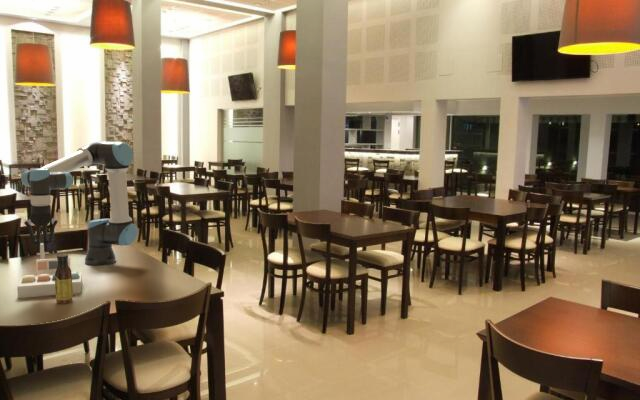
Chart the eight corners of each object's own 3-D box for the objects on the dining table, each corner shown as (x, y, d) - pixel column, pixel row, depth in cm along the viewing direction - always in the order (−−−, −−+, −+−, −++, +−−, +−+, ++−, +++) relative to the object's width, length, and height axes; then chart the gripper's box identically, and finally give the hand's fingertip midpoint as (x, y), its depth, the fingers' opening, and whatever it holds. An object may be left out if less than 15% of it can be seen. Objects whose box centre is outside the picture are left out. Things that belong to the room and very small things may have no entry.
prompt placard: (70, 280, 244) (70, 257, 243) (70, 281, 243) (69, 258, 242) (36, 283, 238) (36, 259, 237) (36, 283, 238) (35, 260, 236)
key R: (78, 280, 235) (78, 271, 234) (78, 282, 231) (78, 273, 230) (68, 281, 233) (68, 271, 233) (67, 283, 229) (67, 274, 229)
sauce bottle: (59, 299, 217) (58, 252, 214) (75, 299, 218) (73, 252, 215) (53, 304, 211) (51, 256, 208) (69, 304, 211) (67, 256, 209)
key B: (49, 282, 230) (49, 273, 230) (49, 285, 226) (48, 275, 226) (39, 283, 229) (38, 273, 228) (38, 285, 225) (37, 276, 224)
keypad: (82, 282, 241) (81, 272, 240) (81, 292, 226) (80, 281, 226) (22, 287, 232) (22, 276, 231) (17, 298, 217) (17, 286, 216)
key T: (34, 283, 228) (34, 274, 227) (33, 286, 224) (33, 276, 224) (24, 284, 226) (23, 274, 226) (22, 287, 223) (22, 277, 222)
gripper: (58, 203, 229) (60, 255, 232) (24, 203, 224) (26, 257, 227) (57, 205, 222) (58, 259, 225) (22, 206, 217) (24, 261, 220)
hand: (42, 258), depth 226 cm, fingers closed
